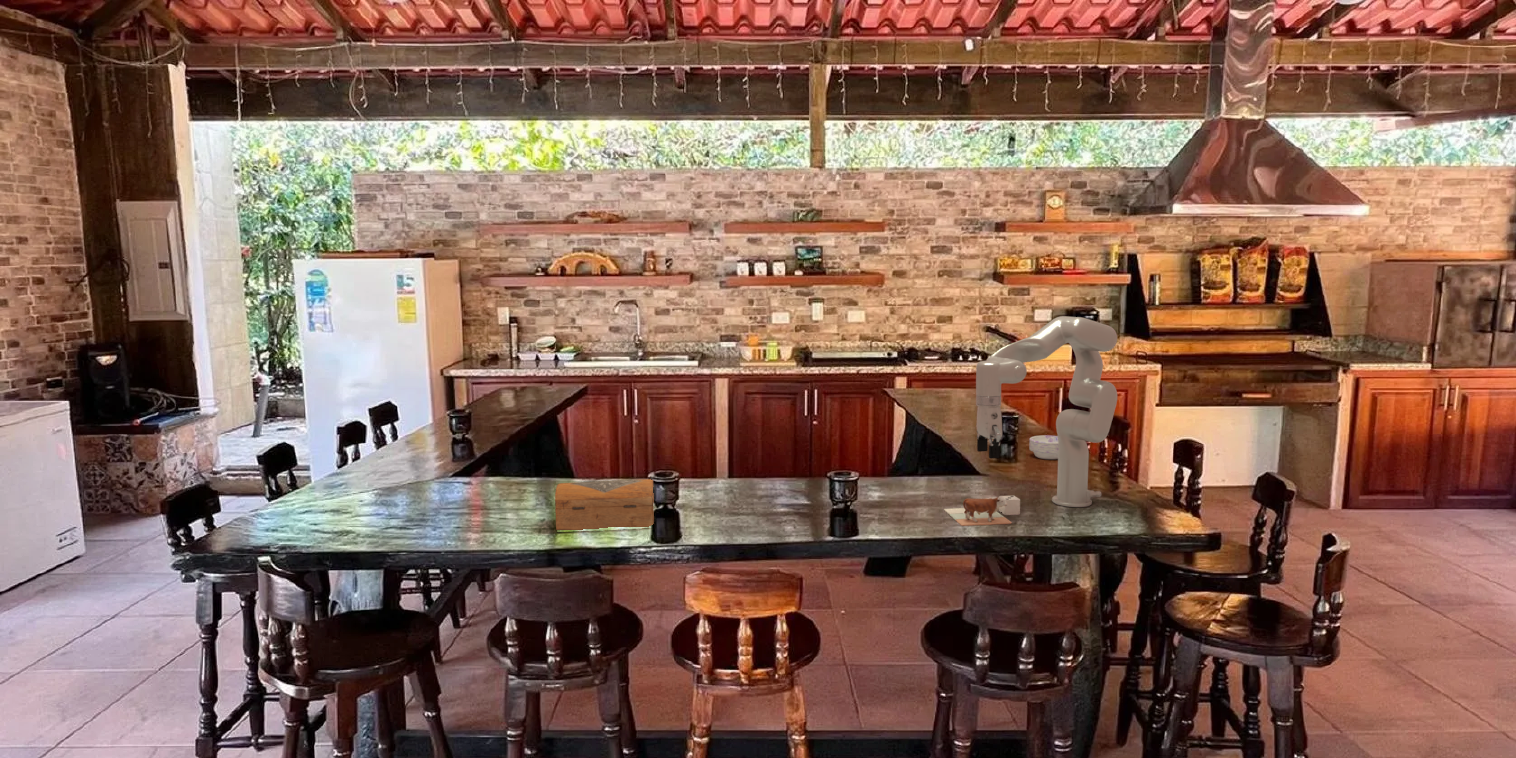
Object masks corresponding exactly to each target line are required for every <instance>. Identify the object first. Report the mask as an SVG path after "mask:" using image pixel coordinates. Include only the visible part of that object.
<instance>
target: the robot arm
mask: <svg viewBox="0 0 1516 758" xmlns="http://www.w3.org/2000/svg"><path fill="white" fill-rule="evenodd" d="M1117 342H1118V335H1117V332H1116V330H1115V329H1114V327H1112V326H1111V325H1107V324H1105V323H1101V322H1099V321H1095V320H1092V319H1089V318H1086V317H1081V316H1077V317H1076V316H1065V315H1060V316H1057V317H1055V318H1053V319H1052V320H1050V321H1048V323H1046V324H1045V325H1043V326H1042V327H1041V328H1040V329H1038V330H1037V331H1036V332H1034V333H1033V334H1032V335H1030V336H1028V337H1025V338H1023V339H1020V340H1017V341H1015V342H1013V343H1009V344H1007V345H1005V346H1003V347H1001V348H999V349H998V350H996V351H995V352H994V353H992V354H991V355H990V356H989V357H987V359H986V360H981V361H978V362H977V363H976V366H975V368H976V370H975V371H976V372H975V373H976V374H975V376H976V378H975V395H976V396H975V405H976V407H977V411H976V425H975V426H976V433H977V434H976V439H977V440H976V441H977V446H976V450H977V452H980V453H981V452H988V458H989V459H1000V457H1001V455H1000V454H1001V453H1000V446H1001V439H1002V437H1003V420H1002V419H1003V418H1002V417H1003V416H1002V410H1001V406H1002V384H1018V383H1021V382H1022V381H1023V380H1024V379H1025V378H1026V376H1027V373H1028V371H1027V367H1026V365H1025V363H1030V362H1038V361H1043V360H1045V359H1047V358H1048V357H1050V356H1051V355H1053V353H1055V352H1056V351H1057V350H1059V349H1060V348H1061V347H1063V346H1064V345H1065V344H1069V346H1070V347H1071V349H1072V350H1073V352H1074V356H1075V368H1074V372H1073V375H1072V378H1071V384H1070V387H1069V392H1068V400H1069V402H1070V403H1071V404H1073V405H1074V406H1078V407H1082V408H1088V409H1090V410H1089V411H1086V410H1080V409H1076V408H1075V409H1074V408H1070V409H1064V410H1062V411H1061V412H1059V413H1058V415H1057V417H1056V420H1055V428H1056V433H1057V435H1056V436H1058V446H1059V449H1058V459H1057V482H1056V483H1057V484H1056V485H1057V487H1056V495H1053V496H1052V497H1051V501H1052V503H1053V504H1055V505H1058V506H1062V507H1068V508H1085V507H1090V506H1091V505H1092V504H1093V501H1092V498H1101V497H1102V492H1101V490H1098V491H1096V490H1095V491H1094V490H1090V489H1088V482H1089V481H1088V479H1089V455H1090V453H1089V447H1088V444H1087V442H1088V443H1093V444H1095V443H1096V444H1097V443H1101V442H1103V441H1104V440H1105V439H1106V438H1107V436H1108V435H1109V432H1110V429H1111V426H1112V421H1113V418H1114V414H1115V410H1116V407H1117V402H1118V392H1117V388H1116V386H1115V385H1114V384H1113V383H1112V382H1110V381H1107V380H1101V378H1102V373H1103V369H1104V368H1103V367H1104V365H1103V364H1104V362H1103V359H1102V356H1101V353H1100V352H1102V353H1106V352H1110V351H1112V350H1113V349H1114V348H1115V347H1116V344H1117ZM988 442H989V445H988Z"/></svg>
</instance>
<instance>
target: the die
mask: <svg viewBox="0 0 1516 758" xmlns="http://www.w3.org/2000/svg"><path fill="white" fill-rule="evenodd" d="M1001 496H1002V497H1003V498H1004V499H1005V501H1006V503H1007V506H1002V507H999V509H998V511H999V512H1000V513H1001V512H1002V513H1001V514H1002V515H1004V516H1012V515H1013V516H1016V515H1017V516H1018V515H1020V513H1021V510H1020V509H1021V499H1020V498H1019V497H1017V496H1015V495H1001Z"/></svg>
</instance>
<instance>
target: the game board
mask: <svg viewBox="0 0 1516 758" xmlns="http://www.w3.org/2000/svg"><path fill="white" fill-rule="evenodd" d="M943 511H944V512H945V513H946V514H947V515H949V517H951V518H952V519H953V520H954V521H956V523H958V525H960V526H961V527H965V526H966V527H969V526H989V525H990V526H991V525H1011V524H1012V523H1013V522H1012V521H1010V520H1009V519H1008V518H1006V517H1005V515H1004V516H1003V514H1002V513H1001V512H1000V513H999V512H998V510H997V511H996V512H995V513H993V514H992V516H993V518H994V520H992V519H991V521H992V522H989V521H988V517H989V516H988V514H989V513H987V512H983V513H980V515H979V514H978V513H977V512H976V511H975V512H974V517H975V519H976V520H977V521H978V522H975V521H973V519H972V517H971V516H970V518H969V519H970V520H967V518H965V517H966V516H965V513H964V512H965V508H964V507H960V508H959V507H958V508H957V507H956V508H943Z"/></svg>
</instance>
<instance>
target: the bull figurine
mask: <svg viewBox="0 0 1516 758" xmlns="http://www.w3.org/2000/svg"><path fill="white" fill-rule="evenodd" d="M1002 496H1003V495H999V496H990V497H986V498H985V497H984V498H965V499H964V500H963V501H962V506H963V508H965V512H964V513H965V516H966V517H965V518H967V520H970V519H969V518H970V516H971V517H972V519H973V521H975V522H978V521H977V520H976V519H975V517H974V512H975V511H976V512H977V513H978V514H979V515H980V513H983V512H987V513H989V514H988V516H989V517H988V521H989V522H992V521H991V519H992V520H994V518H993V516H992V514H993V513H995V512H996V511H997V512H998V511H999V507H1002V506H1007V503H1006V501H1005V499H1004V498H1003V497H1002Z"/></svg>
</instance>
